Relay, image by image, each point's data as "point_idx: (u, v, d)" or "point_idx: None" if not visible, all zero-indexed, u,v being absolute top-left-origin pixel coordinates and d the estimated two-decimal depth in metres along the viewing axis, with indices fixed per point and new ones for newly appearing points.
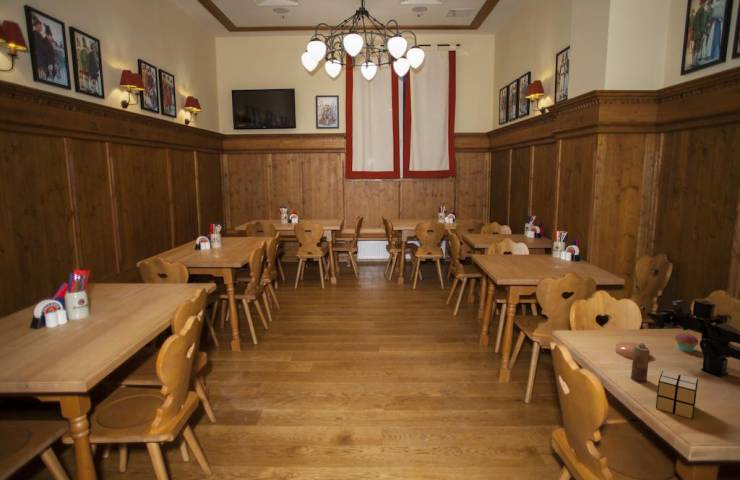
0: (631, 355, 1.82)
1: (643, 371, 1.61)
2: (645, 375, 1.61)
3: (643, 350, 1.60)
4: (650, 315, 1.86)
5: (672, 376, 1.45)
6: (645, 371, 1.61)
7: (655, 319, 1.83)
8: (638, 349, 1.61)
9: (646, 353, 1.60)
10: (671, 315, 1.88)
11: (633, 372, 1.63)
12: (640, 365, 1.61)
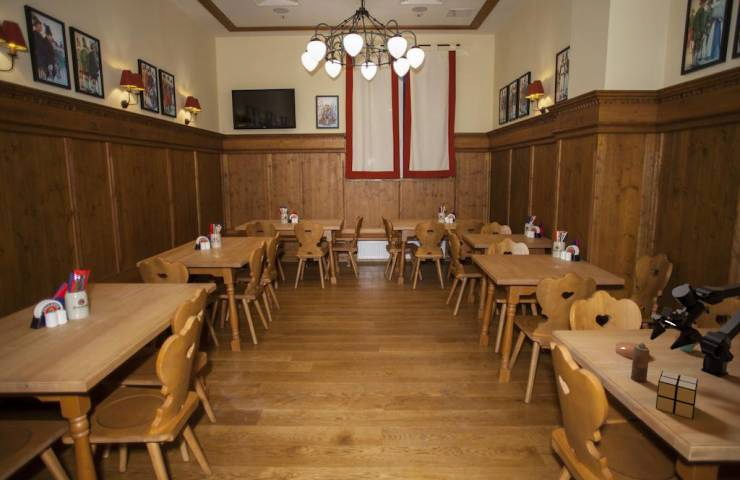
0: (631, 355, 1.82)
1: (643, 371, 1.61)
2: (645, 375, 1.61)
3: (643, 350, 1.60)
4: (676, 346, 1.58)
5: (672, 376, 1.45)
6: (645, 371, 1.61)
7: (684, 343, 1.57)
8: (638, 349, 1.61)
9: (646, 353, 1.60)
10: (659, 332, 1.68)
11: (633, 372, 1.63)
12: (640, 365, 1.61)
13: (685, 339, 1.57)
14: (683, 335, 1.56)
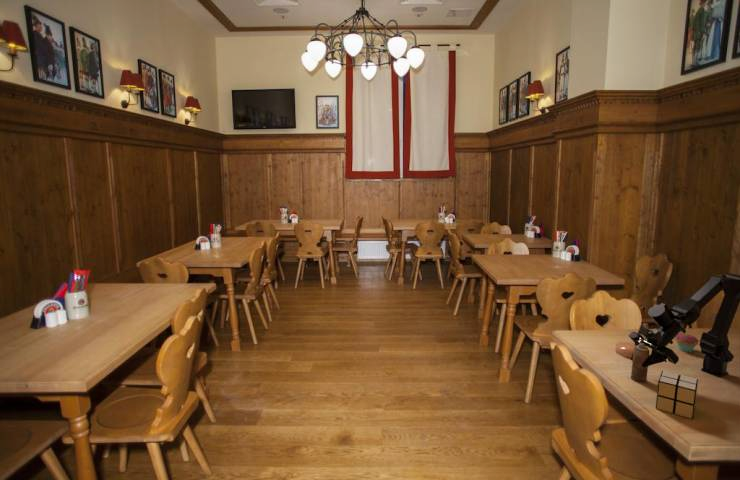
0: (631, 355, 1.82)
1: (643, 371, 1.61)
2: (645, 375, 1.61)
3: (643, 350, 1.60)
4: (648, 363, 1.59)
5: (672, 376, 1.45)
6: (645, 371, 1.61)
7: (655, 360, 1.59)
8: (638, 349, 1.61)
9: (646, 353, 1.60)
10: None
11: (633, 372, 1.63)
12: (640, 365, 1.61)
13: (656, 357, 1.59)
14: (654, 353, 1.58)
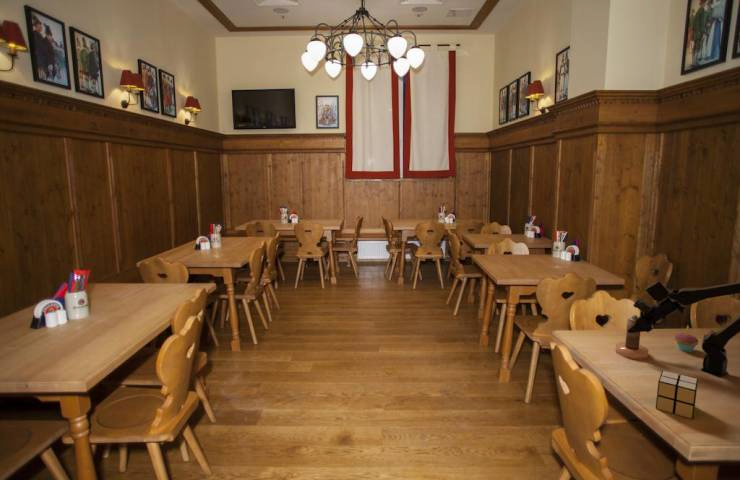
0: (631, 355, 1.82)
1: (630, 339, 1.84)
2: (632, 343, 1.84)
3: (631, 320, 1.84)
4: (632, 330, 1.81)
5: (672, 376, 1.45)
6: (632, 339, 1.84)
7: (639, 329, 1.79)
8: (629, 319, 1.85)
9: (633, 323, 1.83)
10: None
11: None
12: (628, 333, 1.85)
13: (640, 326, 1.79)
14: None
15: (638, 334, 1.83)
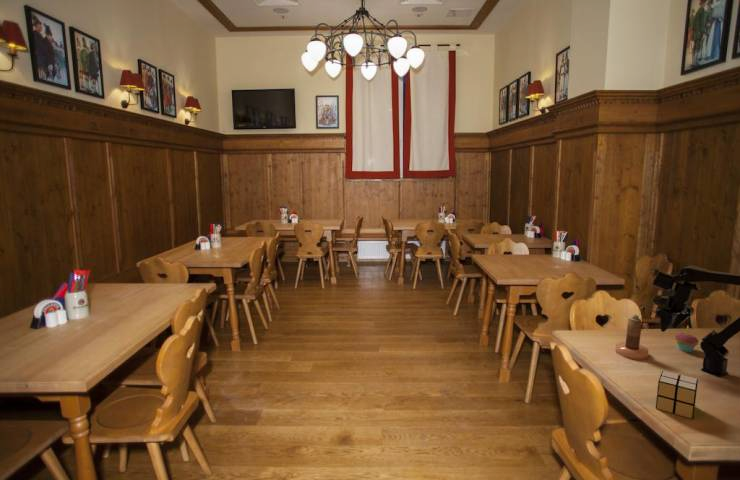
0: (631, 355, 1.82)
1: (630, 338, 1.84)
2: (633, 343, 1.84)
3: (632, 319, 1.84)
4: (663, 327, 1.77)
5: (672, 376, 1.45)
6: (633, 339, 1.84)
7: (667, 323, 1.75)
8: None
9: (633, 322, 1.83)
10: (680, 319, 1.81)
11: (626, 339, 1.87)
12: (628, 333, 1.85)
13: (666, 319, 1.75)
14: None
15: (638, 334, 1.83)
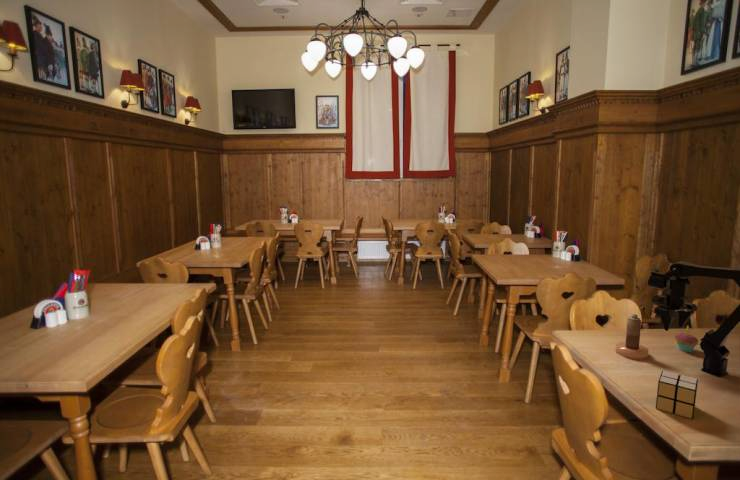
0: (631, 355, 1.82)
1: (630, 338, 1.85)
2: (632, 342, 1.84)
3: (630, 318, 1.85)
4: (665, 326, 1.77)
5: (672, 376, 1.45)
6: (632, 338, 1.84)
7: (667, 321, 1.76)
8: (629, 318, 1.86)
9: (632, 321, 1.84)
10: (684, 317, 1.80)
11: None
12: (628, 332, 1.86)
13: (666, 317, 1.76)
14: None
15: (638, 333, 1.84)
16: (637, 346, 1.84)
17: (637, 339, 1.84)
